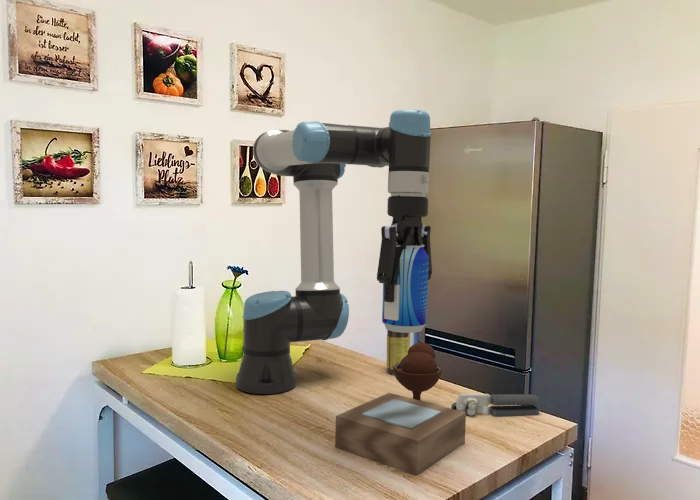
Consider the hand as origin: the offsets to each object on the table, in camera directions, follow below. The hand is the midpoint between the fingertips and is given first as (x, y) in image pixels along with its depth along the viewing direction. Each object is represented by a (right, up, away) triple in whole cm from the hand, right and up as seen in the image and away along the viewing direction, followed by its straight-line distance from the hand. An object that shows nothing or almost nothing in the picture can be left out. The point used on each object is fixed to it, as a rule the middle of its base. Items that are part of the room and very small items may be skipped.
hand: (404, 315), depth 109 cm
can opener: (+22, -25, +20) cm, 39 cm away
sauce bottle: (+3, -22, +49) cm, 53 cm away
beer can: (0, -3, 0) cm, 3 cm away
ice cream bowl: (+5, -24, +22) cm, 33 cm away
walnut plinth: (0, -25, +2) cm, 25 cm away
